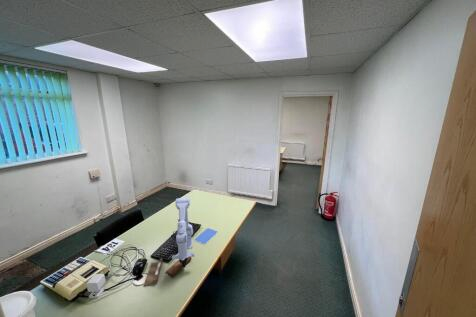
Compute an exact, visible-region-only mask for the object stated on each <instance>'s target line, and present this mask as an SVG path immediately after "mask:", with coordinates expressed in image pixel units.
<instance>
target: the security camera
mask: <svg viewBox="0 0 476 317" xmlns="http://www.w3.org/2000/svg"><path fill="white" fill-rule="evenodd" d="M106 282H107V281H106V276H105V274H104V273H94V274H93V275H92V276H91V277H90V279H88V281H87V282H86V284H85V285H86V289H87V291H88V292H89V293H90V294H89V295H88V298H89V299H99V298H100V297H101V295H102V294H103V292H104V291H105V290H106V289H105V287H103V286H104V285H105V283H106ZM94 293H95V296H93V294H94Z"/></svg>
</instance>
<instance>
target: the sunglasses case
mask: <svg viewBox="0 0 476 317" xmlns="http://www.w3.org/2000/svg"><path fill="white" fill-rule="evenodd" d="M192 258H193V257H188V258H187V262H186V265H187V264H188V263H190V262H191V261H192ZM182 269H184V267H183V266H182V264H181V263H180V262H179V259H177V260H176V261H175V262H174V263H173V265H171V266H170V267H169V268H167V269H166V270H165V272H164V274H165V275H167V276H168V277H171V279H173V278H175V277H176V275H178V273H180V271H181V270H182Z"/></svg>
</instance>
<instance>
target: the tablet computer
mask: <svg viewBox="0 0 476 317" xmlns="http://www.w3.org/2000/svg"><path fill="white" fill-rule="evenodd" d="M217 234H219V231H218V230H214V229H212V228H209V227H207V228H206V229H205V230H203V232H201V233H200V234H199V235H197V236H196V237H195V238H194V239H193V242H195V243H196V242H197V243H199V244H201V245H203V246H205V245H207V244H208V243H209V242H210V241H211V240H212V239H213V238H214V237H216V236H217Z"/></svg>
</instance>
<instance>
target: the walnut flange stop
mask: <svg viewBox="0 0 476 317" xmlns="http://www.w3.org/2000/svg"><path fill="white" fill-rule="evenodd" d="M163 262H164V261H163V258H159V260H158V261H154V262H150V265H149V266H150V267H149V269H148V272H147V275H146V277H145V280H144V282H143V283H144V284H143V287H148V286H155V285H158V281H159V277H160V274H161V270H162V266H163V264H164V263H163Z"/></svg>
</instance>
